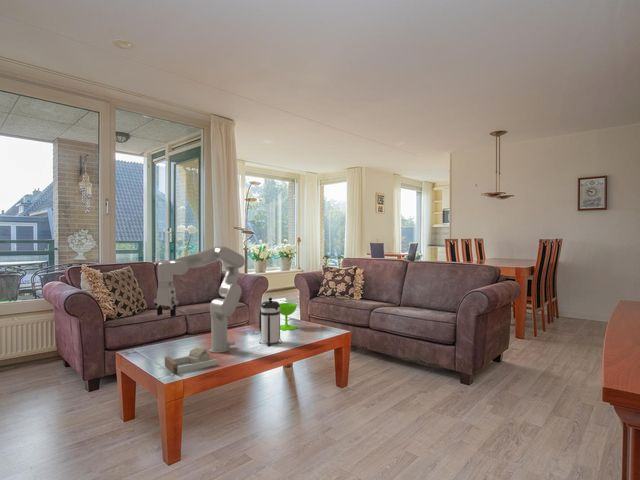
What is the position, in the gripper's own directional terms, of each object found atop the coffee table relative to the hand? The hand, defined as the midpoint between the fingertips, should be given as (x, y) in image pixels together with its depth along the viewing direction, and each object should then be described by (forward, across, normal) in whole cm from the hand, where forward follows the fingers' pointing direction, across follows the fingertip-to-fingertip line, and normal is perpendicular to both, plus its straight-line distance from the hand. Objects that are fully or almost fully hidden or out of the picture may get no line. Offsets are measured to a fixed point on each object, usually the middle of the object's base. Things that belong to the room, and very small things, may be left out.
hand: (166, 315), depth 209 cm
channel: (+26, -15, -2) cm, 30 cm away
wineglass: (+28, -21, -98) cm, 104 cm away
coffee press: (+28, -30, -57) cm, 70 cm away
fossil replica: (+27, -17, -6) cm, 32 cm away
